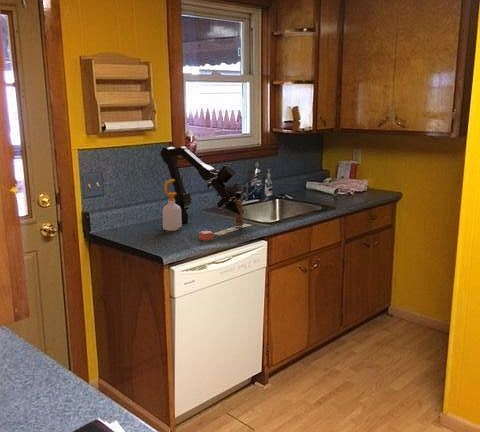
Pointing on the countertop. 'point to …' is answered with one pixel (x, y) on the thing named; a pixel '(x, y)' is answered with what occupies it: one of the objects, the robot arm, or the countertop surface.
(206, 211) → the countertop surface
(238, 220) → the pawn
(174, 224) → the soap bottle
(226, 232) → the track board
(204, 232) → the red cube
